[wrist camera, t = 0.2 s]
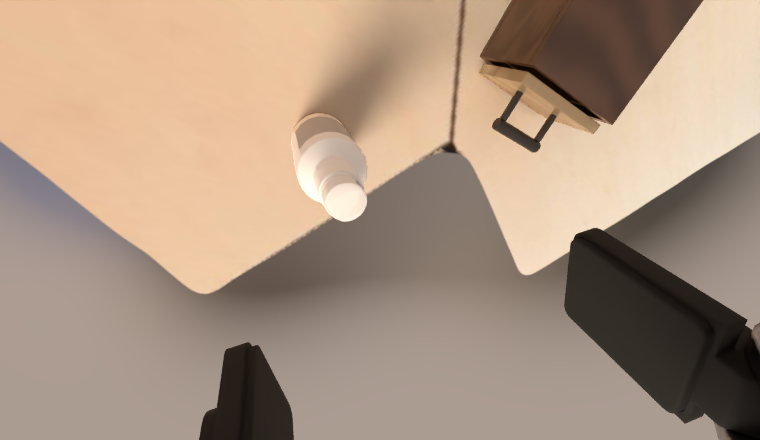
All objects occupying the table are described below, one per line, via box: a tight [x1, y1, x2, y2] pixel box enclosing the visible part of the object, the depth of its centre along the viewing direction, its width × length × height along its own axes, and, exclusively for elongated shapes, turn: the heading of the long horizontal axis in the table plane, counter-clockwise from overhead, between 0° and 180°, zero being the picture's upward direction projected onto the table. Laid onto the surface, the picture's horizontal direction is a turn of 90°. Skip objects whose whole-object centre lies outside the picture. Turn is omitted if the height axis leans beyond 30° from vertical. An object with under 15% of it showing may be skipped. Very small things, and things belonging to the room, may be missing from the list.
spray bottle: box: [291, 113, 367, 222], centre depth 36 cm, size 7×7×18 cm
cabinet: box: [480, 0, 703, 125], centre depth 40 cm, size 17×14×11 cm
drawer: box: [479, 63, 600, 152], centre depth 42 cm, size 20×12×9 cm, turn 151°
